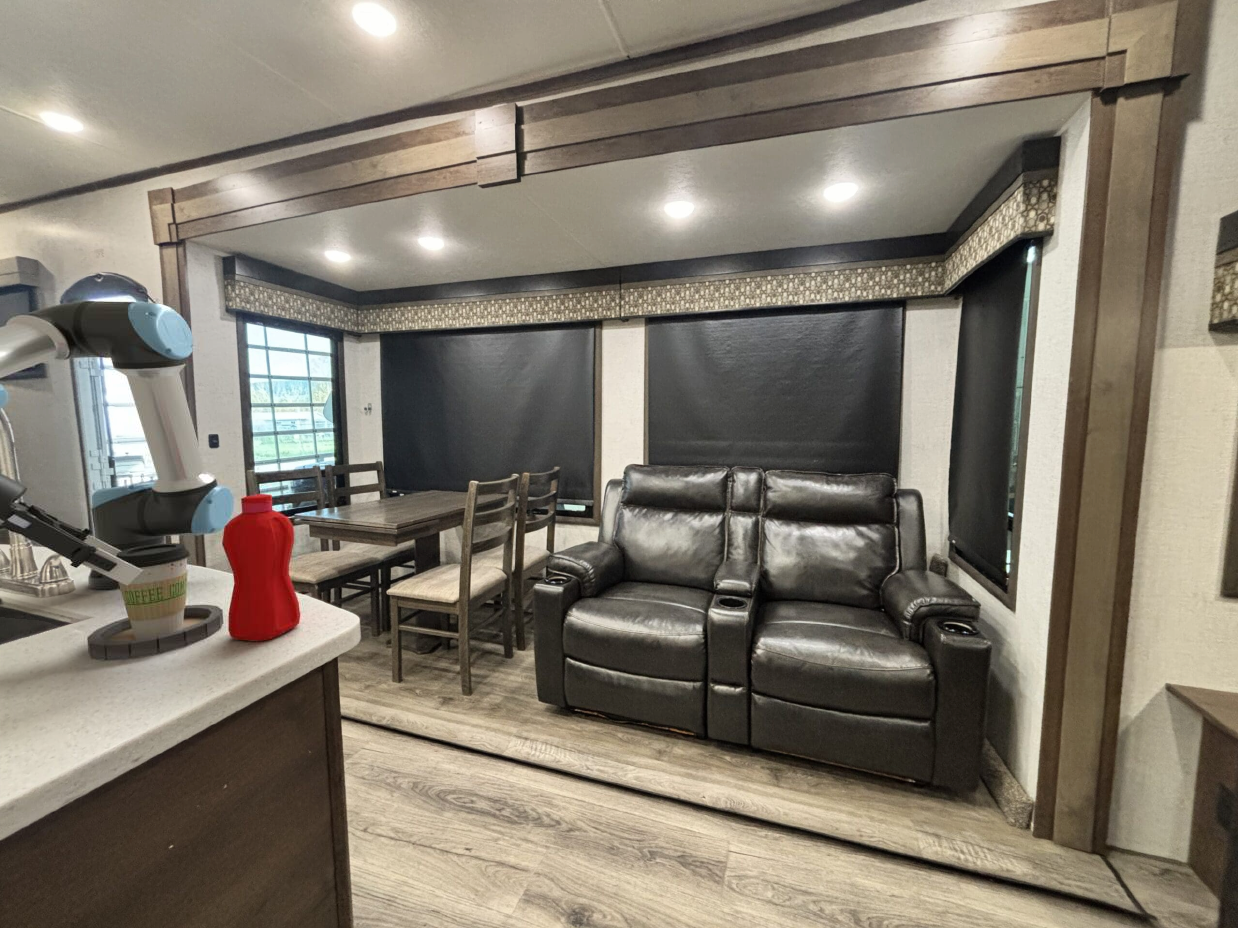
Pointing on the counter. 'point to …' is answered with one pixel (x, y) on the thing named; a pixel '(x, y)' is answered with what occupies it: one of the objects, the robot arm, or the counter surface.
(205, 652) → the counter surface
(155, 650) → the round tray
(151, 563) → the coffee cup
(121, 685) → the counter surface
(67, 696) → the counter surface
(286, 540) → the red curved bottle
